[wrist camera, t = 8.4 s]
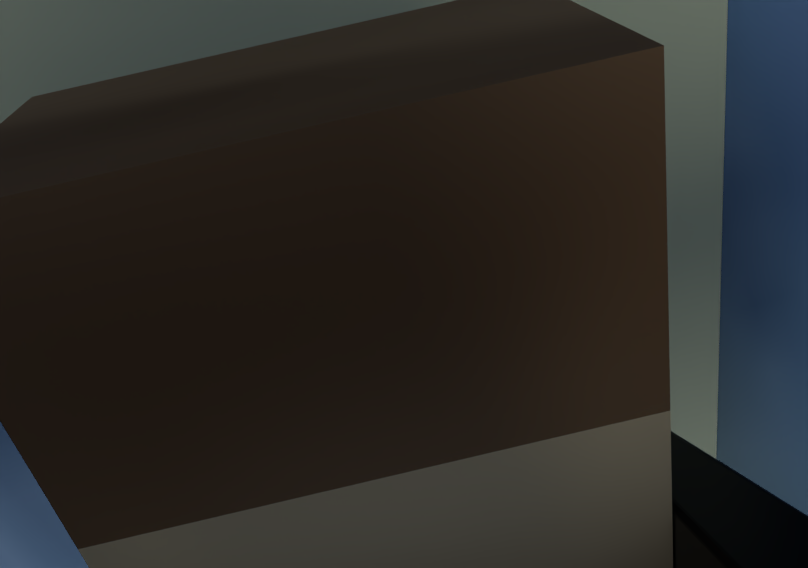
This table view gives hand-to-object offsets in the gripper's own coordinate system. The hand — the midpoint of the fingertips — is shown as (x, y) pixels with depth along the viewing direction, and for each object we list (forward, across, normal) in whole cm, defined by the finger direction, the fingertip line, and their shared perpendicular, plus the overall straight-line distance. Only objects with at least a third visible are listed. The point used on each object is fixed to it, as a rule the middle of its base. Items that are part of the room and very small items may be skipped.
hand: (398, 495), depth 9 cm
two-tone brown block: (+1, 0, 0) cm, 1 cm away
